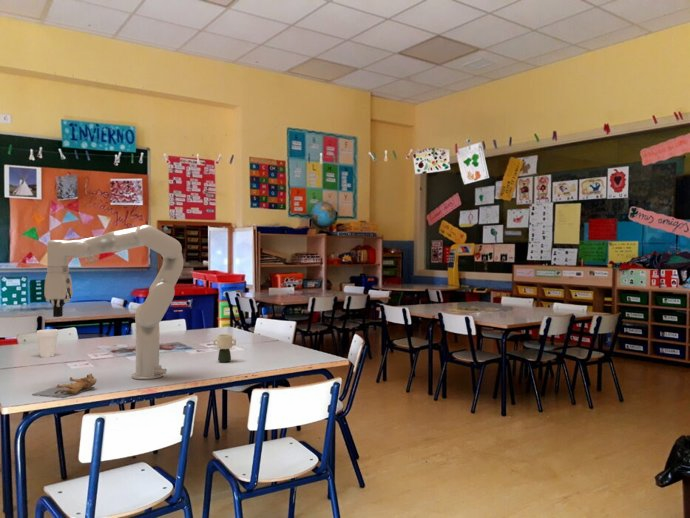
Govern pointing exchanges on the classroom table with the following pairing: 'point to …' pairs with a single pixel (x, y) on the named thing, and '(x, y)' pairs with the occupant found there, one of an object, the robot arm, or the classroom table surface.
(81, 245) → the robot arm
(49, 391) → the felt mat
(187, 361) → the classroom table surface
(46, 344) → the foam cup
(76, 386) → the lion figurine
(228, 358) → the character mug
